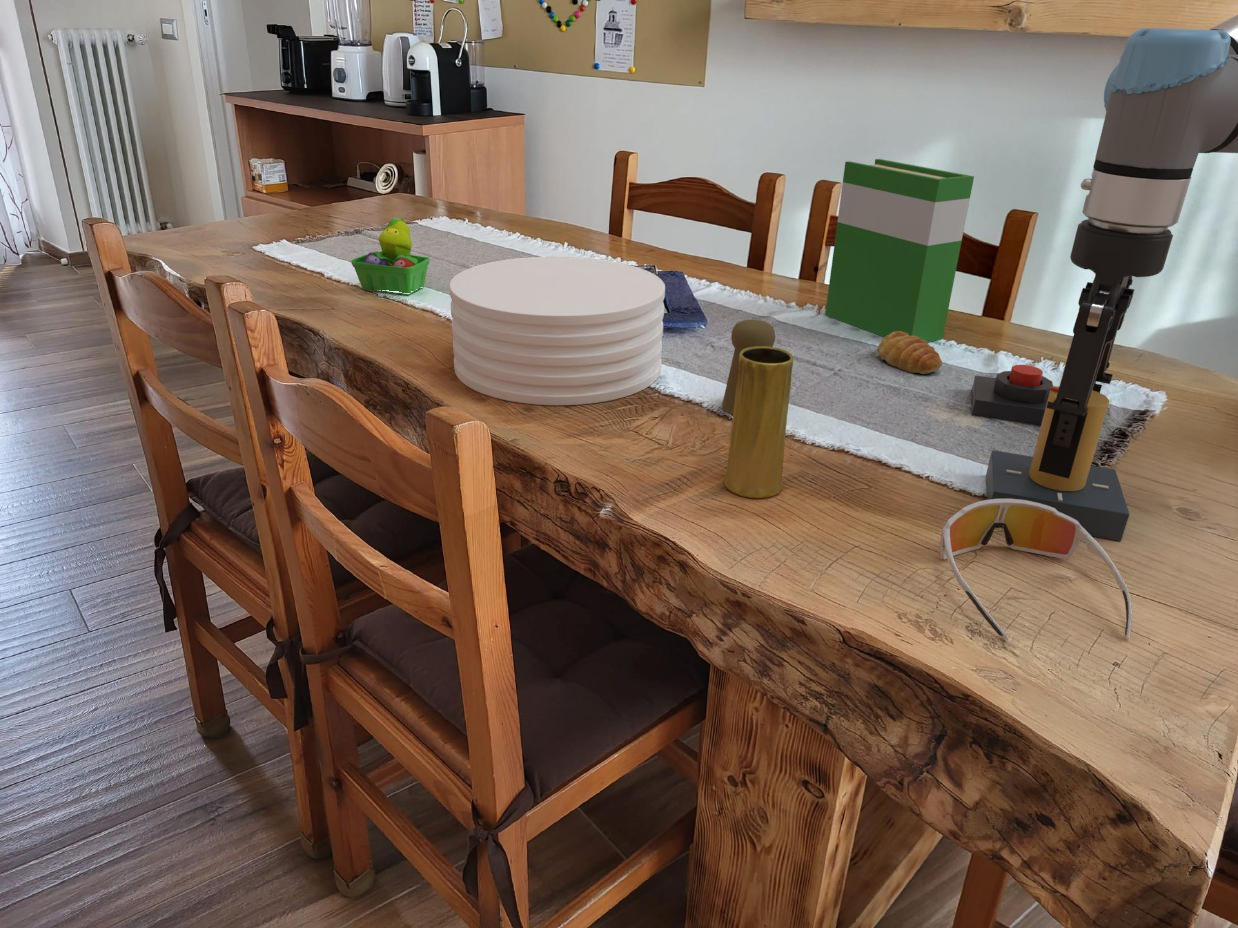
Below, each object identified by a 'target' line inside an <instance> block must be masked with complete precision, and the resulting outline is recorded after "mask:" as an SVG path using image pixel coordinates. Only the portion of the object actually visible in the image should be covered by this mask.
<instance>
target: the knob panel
mask: <svg viewBox="0 0 1238 928" xmlns="http://www.w3.org/2000/svg"><path fill="white" fill-rule="evenodd" d="M1032 459H1033V455H1032V456H1031V455H1025V454H1020V453H1019V454H1018V453H1012V452H1007V451H1000V450H995V449H994V450H993V449H992V450H991V452H990V456H989V461H988V465H987V469H986V473H985V478H986V479H985V480H986V482H985V483H986V500H990V499H1019V500H1027V501H1032V502H1036V503H1040V504H1044V505H1047V506H1050V507H1053V508H1055V509H1056V510H1057V511H1058V512H1061V513H1063V514H1065V515H1067V516H1069V517H1071V518H1073V519H1075V520H1077V521H1078V522H1079V524H1080V525H1081V526H1082V527H1083V528H1084V529H1085V530H1086V531H1087V532H1088V533H1089V534H1090V535H1091V536H1092V537H1093V538H1100V539H1107V540H1111V541H1117V542H1122V539H1123V536H1124V533H1125V530H1126V528H1127V524H1128V521H1129V517H1130V512H1129V508H1128V505H1127V502H1126V499H1125V495H1124V491H1123V489H1122V485H1121V482H1120V480H1119V476H1118V473H1117V470H1116V469H1115V468H1109V467H1103V466H1102V467H1101V466H1096V465H1091V467H1090V470H1089V474H1088V477H1087V481H1086V484H1085V487H1084V488H1083V489H1081V490H1078V491H1071V492H1070V491H1058V490H1053V489H1050V488H1046V487H1044V486H1041V485H1039V484H1037V483H1036V482H1034V481H1033V480H1032V479H1031V478H1030V477H1029V471H1030V467H1031V463H1032Z"/></svg>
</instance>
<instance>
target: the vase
mask: <svg viewBox="0 0 1238 928" xmlns="http://www.w3.org/2000/svg"><path fill="white" fill-rule="evenodd" d="M794 360H795V359H794V355H793V354H792V353H791V352H789V351H788V350H786V349H783V348H779V347H775V346H773V347H768V346H756V347H749V348H745V349H743V350H742V351H741V352H740V355H739V365H738V374H737V384H736V393H735V403H734V411H733V415H732V422H731V428H730V436H729V437H730V438H729V447H728V456H727V464H726V471H725V474H724V477H723V484H724V486H725V488H726V489H727V490H729V492H731V493H733V494H735V495H738V496H740V497H745V498H749V499H764V498H771V497H774V496H776V495H778V494H779V493H780V492H782V490H783V489H784V482H783V469H784V458H785V447H786V446H785V445H786V433H787V423H788V413H789V412H788V411H789V404H790V395H791V388H792V387H791V386H792V372H793V366H794V365H793V364H794Z"/></svg>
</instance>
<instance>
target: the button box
mask: <svg viewBox="0 0 1238 928" xmlns="http://www.w3.org/2000/svg"><path fill="white" fill-rule="evenodd" d="M1010 373H1011V370H1004V371H1001V372H999V373H997V374H996V376H995V377H990V376H982V375H974V379H973V383H972V388H971V416H973V417H978V418H986V419H992V420H998V421H1005V422H1006V421H1007V422H1013V423H1020V424H1026V425H1032V426H1033V425H1034V426H1040V427H1041V424H1042V420H1043V416H1044V412H1045V408H1046V404H1047V401H1048V397H1049V393H1050V390H1051V387H1052V386H1053V387H1057V386H1055V385H1054V384H1053V381H1052V380H1051V379H1049V378H1048V377H1045V375H1042V378H1041V382H1040V386H1023V385H1019V384H1015V383H1012V382H1011V381H1009V377H1010Z"/></svg>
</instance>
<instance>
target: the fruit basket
mask: <svg viewBox="0 0 1238 928" xmlns="http://www.w3.org/2000/svg"><path fill="white" fill-rule="evenodd" d="M378 242H379V245H380V249H381V251H377V250H374V251H370V252H368V253H367V254H364V255H361V256H357V257H356V258H353V259H351V260H350V263H351V265H352V267H353V268H354V271H355V273H356V276H357V278H358V281H359V284H360V287H361V289H362V290H363V291H370V292H371V291H372V292H379V293H387V294H395V295H403V296H410V295H411V294H414V293H416V292H418V291H419V290H422V289H423V288H425V287H424V286H425V281H426V276H427V271H428V266H429V264H430V260H431V258H430V257H427V256H422V255H421V256H420V255H414V254H411V250H412V245H413V243H412V239H411V229H410V226H409V225H408V224H407V223H406V222H405V219H403V218H398V217H393V218H392V219H390V221H389V222H388V224H387V225H386V226H385V229H384V230H383V231H382V232H381V233H380V234H379V236H378ZM420 287H423V288H420ZM419 288H420V289H419ZM416 289H419V290H417V291H415V290H416ZM377 290H381V291H377ZM382 290H389V291H399V292H402V293H411V291H415V292H412V293H411V294H401V293H393V292H386V291H382Z"/></svg>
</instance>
